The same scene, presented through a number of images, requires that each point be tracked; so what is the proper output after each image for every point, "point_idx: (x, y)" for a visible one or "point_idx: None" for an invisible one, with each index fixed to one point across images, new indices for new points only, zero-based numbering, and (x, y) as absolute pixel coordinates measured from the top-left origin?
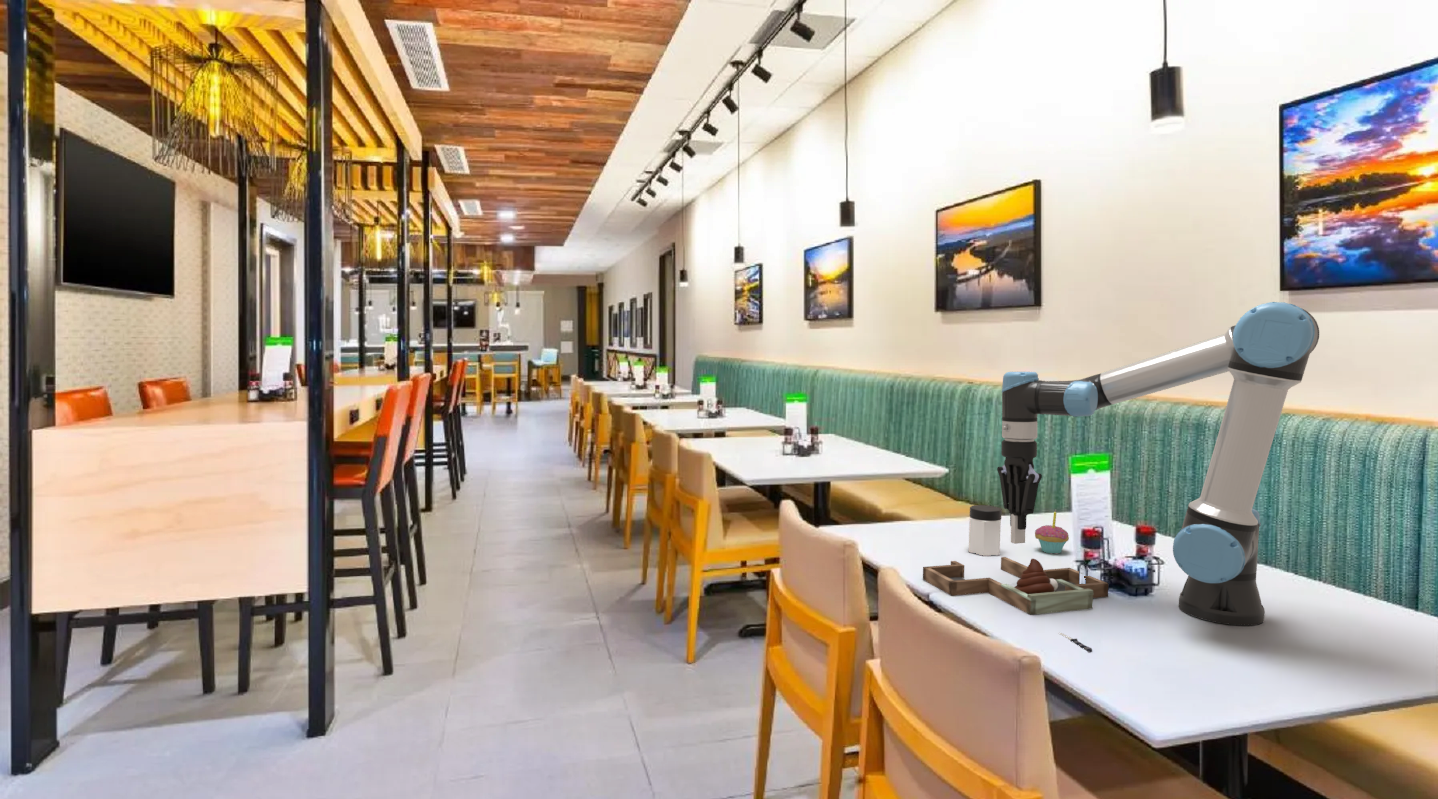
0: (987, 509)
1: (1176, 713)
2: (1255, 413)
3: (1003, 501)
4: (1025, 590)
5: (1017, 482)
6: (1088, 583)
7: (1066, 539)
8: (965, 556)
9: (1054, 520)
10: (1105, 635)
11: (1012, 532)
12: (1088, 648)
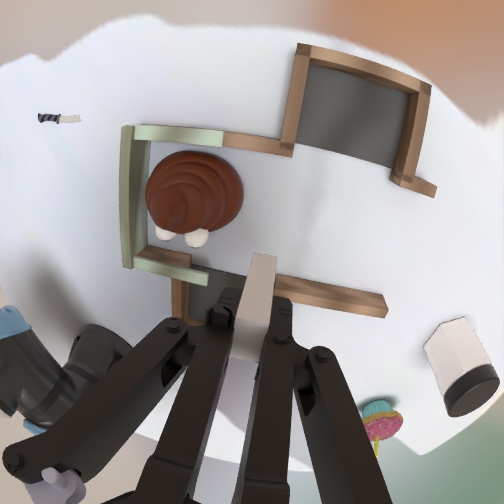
0: (470, 397)
1: None
2: None
3: (340, 376)
4: (173, 158)
5: (143, 474)
6: (180, 310)
7: None
8: (460, 296)
9: (375, 446)
10: (62, 176)
11: (265, 274)
12: (39, 117)
